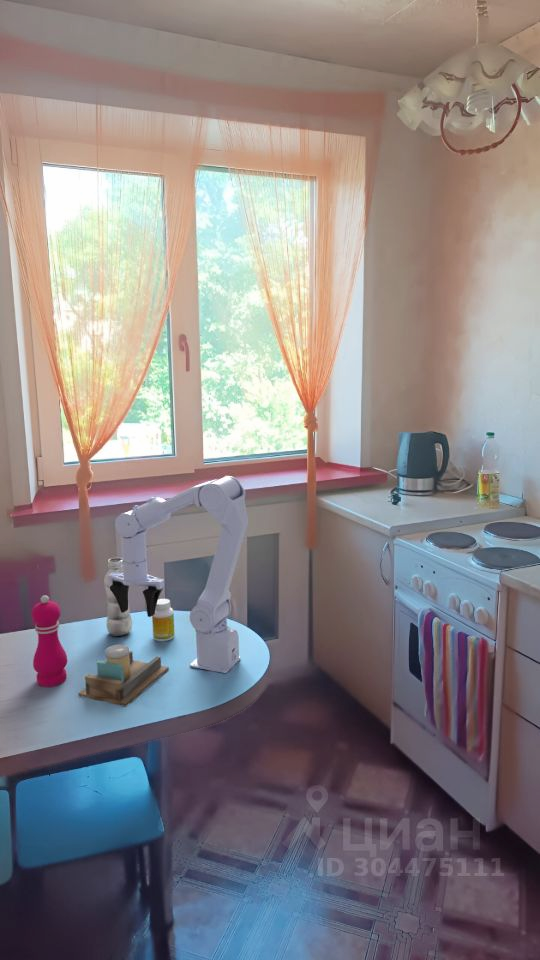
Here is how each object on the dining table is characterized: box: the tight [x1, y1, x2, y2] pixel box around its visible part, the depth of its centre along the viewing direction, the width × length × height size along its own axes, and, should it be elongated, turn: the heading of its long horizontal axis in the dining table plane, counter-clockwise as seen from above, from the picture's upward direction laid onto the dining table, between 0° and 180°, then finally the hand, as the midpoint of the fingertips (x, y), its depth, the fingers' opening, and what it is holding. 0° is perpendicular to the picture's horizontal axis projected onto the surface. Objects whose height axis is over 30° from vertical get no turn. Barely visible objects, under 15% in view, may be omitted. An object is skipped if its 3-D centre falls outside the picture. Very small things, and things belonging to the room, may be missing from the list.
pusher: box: [96, 660, 124, 683], centre depth 138 cm, size 6×1×6 cm, turn 68°
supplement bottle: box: [151, 598, 176, 642], centre depth 165 cm, size 5×5×10 cm
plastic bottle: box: [103, 557, 133, 637], centre depth 167 cm, size 6×7×20 cm
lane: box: [77, 650, 170, 707], centre depth 143 cm, size 12×17×4 cm
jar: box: [105, 644, 131, 682], centre depth 141 cm, size 5×5×8 cm
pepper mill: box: [31, 594, 68, 688], centre depth 143 cm, size 7×7×20 cm
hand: (137, 613), depth 158 cm, fingers open, 7 cm apart
